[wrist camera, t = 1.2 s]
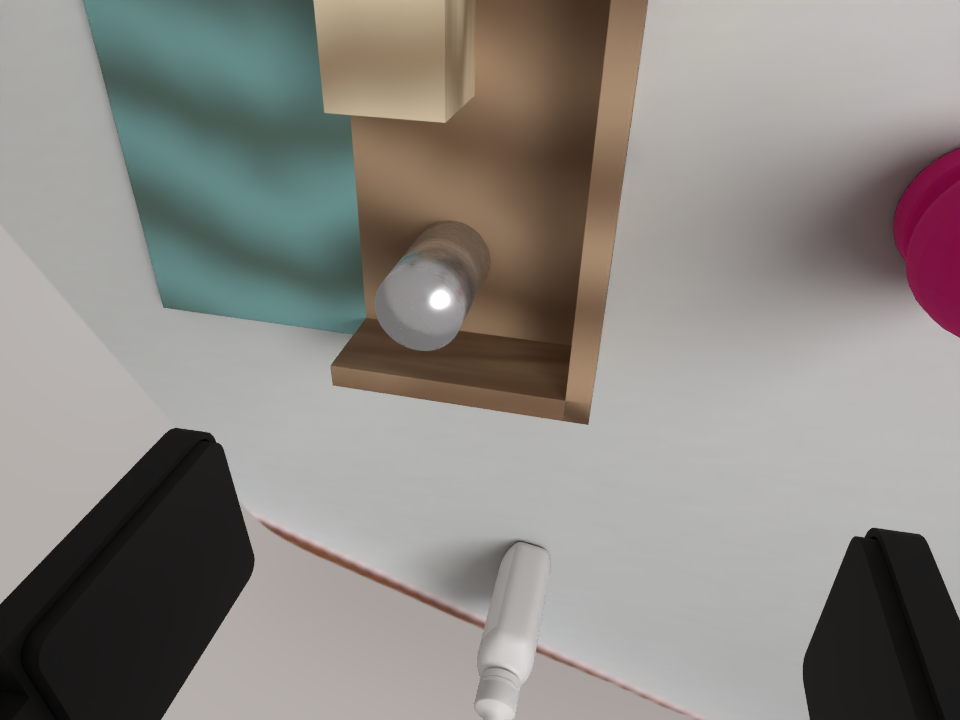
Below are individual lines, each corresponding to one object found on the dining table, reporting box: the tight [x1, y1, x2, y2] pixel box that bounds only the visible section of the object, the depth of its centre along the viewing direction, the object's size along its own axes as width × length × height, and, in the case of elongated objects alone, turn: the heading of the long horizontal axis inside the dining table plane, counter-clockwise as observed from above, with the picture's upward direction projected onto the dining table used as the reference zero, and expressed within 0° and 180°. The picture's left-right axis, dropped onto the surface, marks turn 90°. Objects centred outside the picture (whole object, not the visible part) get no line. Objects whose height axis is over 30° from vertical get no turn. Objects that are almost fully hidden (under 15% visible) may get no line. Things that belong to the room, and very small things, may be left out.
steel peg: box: [375, 220, 491, 351], centre depth 33 cm, size 4×4×6 cm
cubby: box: [83, 0, 648, 425], centre depth 31 cm, size 24×26×6 cm
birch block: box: [313, 0, 476, 123], centre depth 28 cm, size 5×5×5 cm
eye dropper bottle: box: [474, 542, 550, 720], centre depth 43 cm, size 4×6×12 cm
